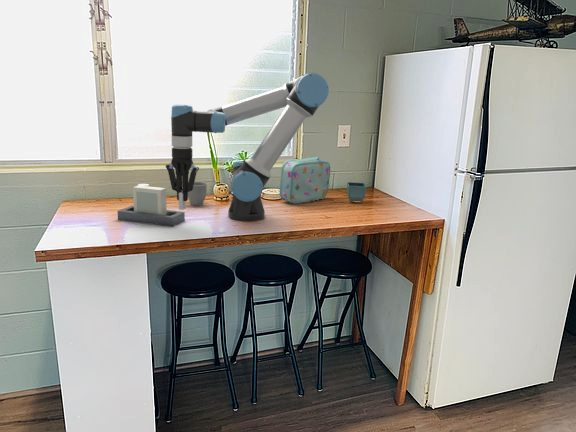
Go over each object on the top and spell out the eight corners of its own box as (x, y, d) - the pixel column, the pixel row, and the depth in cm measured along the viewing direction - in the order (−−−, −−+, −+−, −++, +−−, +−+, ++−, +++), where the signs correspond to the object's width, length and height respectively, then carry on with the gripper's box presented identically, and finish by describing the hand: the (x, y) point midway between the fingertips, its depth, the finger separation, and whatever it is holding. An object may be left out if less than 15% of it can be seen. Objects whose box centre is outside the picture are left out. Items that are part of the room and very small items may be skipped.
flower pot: (365, 204, 227) (367, 186, 225) (347, 203, 227) (348, 185, 225) (363, 200, 235) (364, 182, 233) (345, 199, 235) (346, 182, 233)
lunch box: (315, 195, 242) (318, 154, 236) (330, 199, 234) (333, 156, 229) (276, 202, 224) (278, 157, 219) (291, 206, 217) (293, 160, 211)
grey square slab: (166, 217, 186) (166, 188, 183) (161, 220, 182) (160, 190, 179) (140, 214, 189) (138, 185, 186) (134, 217, 185) (132, 187, 182)
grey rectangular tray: (184, 220, 187) (184, 212, 186) (172, 226, 178) (172, 217, 177) (132, 213, 193) (131, 205, 192) (117, 219, 184) (117, 210, 183)
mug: (209, 205, 212) (209, 184, 209) (190, 207, 207) (190, 186, 205) (200, 200, 222) (200, 179, 219) (182, 201, 218) (182, 180, 215)
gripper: (202, 147, 176) (202, 208, 182) (171, 144, 179) (172, 204, 186) (193, 149, 169) (193, 213, 175) (161, 146, 172) (162, 209, 179)
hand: (182, 208), depth 180 cm, fingers closed
